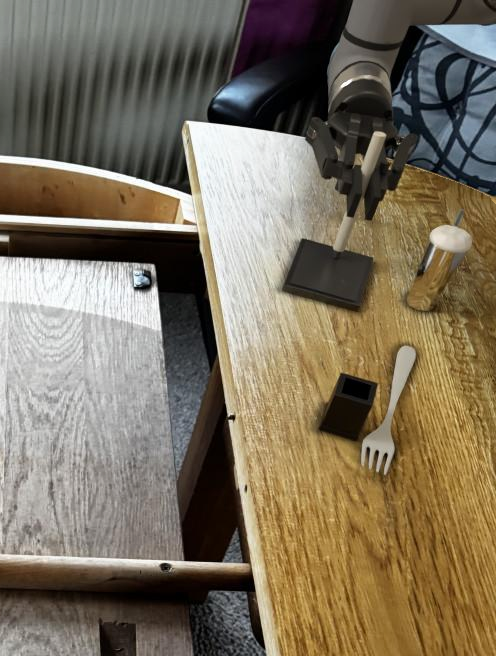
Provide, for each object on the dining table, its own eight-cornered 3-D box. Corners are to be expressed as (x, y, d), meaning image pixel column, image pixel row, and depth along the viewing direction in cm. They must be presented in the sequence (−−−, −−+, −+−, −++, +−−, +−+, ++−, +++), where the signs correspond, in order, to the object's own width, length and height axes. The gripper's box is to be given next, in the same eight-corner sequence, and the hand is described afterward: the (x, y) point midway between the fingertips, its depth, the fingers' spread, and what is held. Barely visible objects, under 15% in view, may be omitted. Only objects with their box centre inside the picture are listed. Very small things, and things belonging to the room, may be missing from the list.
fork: (423, 351, 104) (429, 338, 102) (383, 488, 90) (390, 475, 89) (394, 342, 104) (401, 329, 103) (350, 477, 91) (357, 464, 90)
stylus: (342, 256, 112) (387, 133, 102) (340, 261, 112) (385, 137, 101) (330, 253, 113) (374, 130, 102) (329, 258, 112) (373, 134, 101)
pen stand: (362, 417, 96) (379, 382, 93) (356, 441, 94) (373, 406, 91) (324, 406, 97) (340, 371, 93) (318, 429, 95) (333, 394, 91)
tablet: (371, 263, 114) (374, 256, 113) (357, 311, 107) (360, 305, 107) (299, 243, 115) (302, 236, 114) (281, 290, 109) (284, 283, 108)
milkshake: (443, 295, 111) (483, 215, 103) (435, 319, 108) (476, 238, 100) (405, 283, 112) (442, 203, 103) (397, 306, 109) (434, 226, 101)
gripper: (405, 150, 119) (414, 250, 105) (293, 131, 120) (288, 227, 106) (430, 88, 113) (444, 185, 99) (312, 68, 114) (309, 162, 100)
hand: (363, 207), depth 102 cm, fingers closed on stylus
